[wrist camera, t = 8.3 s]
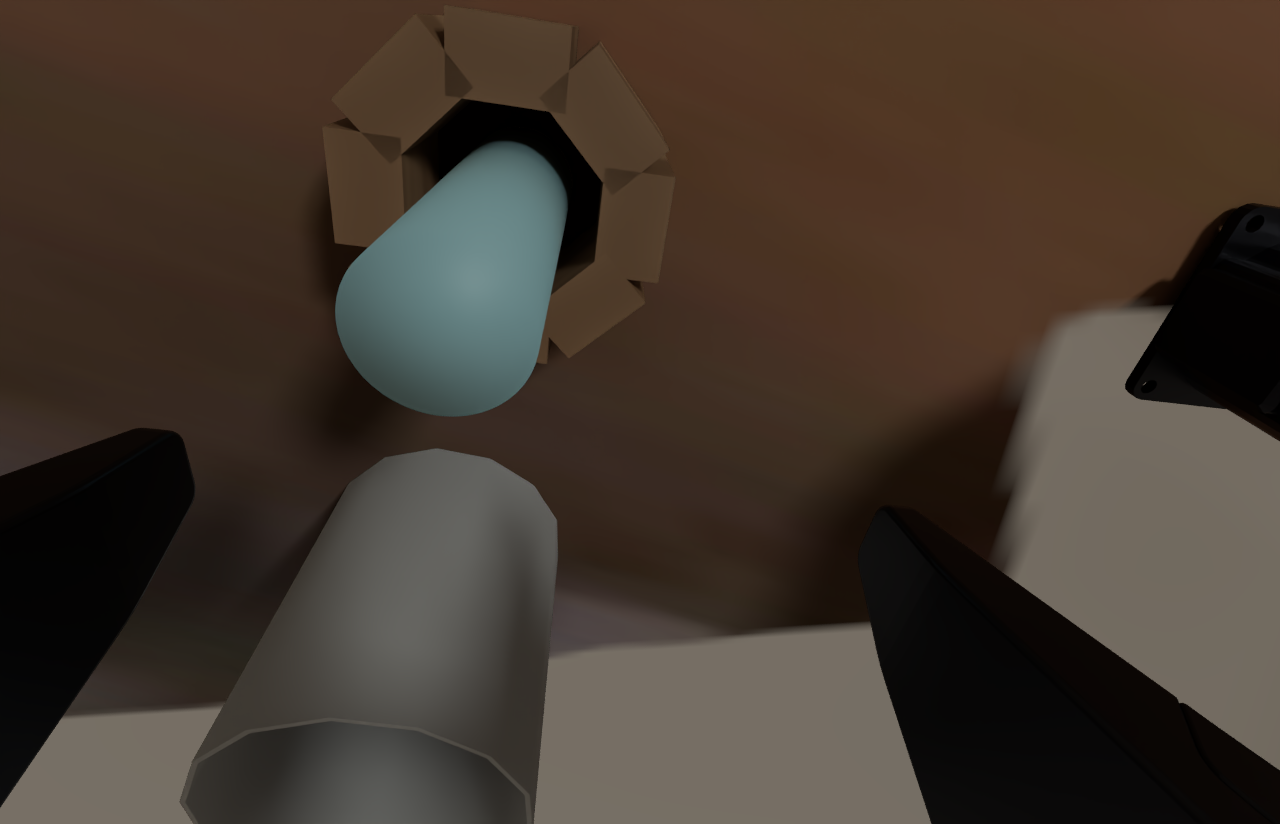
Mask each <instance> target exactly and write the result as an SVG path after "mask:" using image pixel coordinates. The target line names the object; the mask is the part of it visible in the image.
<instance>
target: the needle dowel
mask: <svg viewBox="0 0 1280 824" xmlns="http://www.w3.org/2000/svg"><path fill="white" fill-rule="evenodd" d="M571 194H572V174H571V170H570V166H569V164H568V161H567V159H566V157H565V155H564V154H563V152H562V151H561V149H560V148H559V147H558V146H557V145H556V143H555V142H553V141H552V140H551V139H550V138H549V137H547V136H546V135H544V134H542V133H541V132H539V131H536V130H533V129H531V128H526V127H508V128H503V129H501V130H498V131H496V132H494V133H492V134H491V135H489V136H488V137H487V138H486V139H484V140H483V141H482V142H481V143H480V144H479V145H478V146H477V147H476V148H475V149H474V150H473V151H472V152H470V153H469V154H468V155H467V156H466V157H465V158H464V159H463V160H462V161H461V162H460V163H459V164H458V165H456V166H455V167H454V168H453V169H452V170H451V171H450V172H449V173H448V174H447V175H446V176H445V177H444V178H442V179H441V180H440V181H439V182H438V183H437V184H436V185H435V186H434V187H433V188H432V189H431V190H430V191H428V192H427V193H426V194H425V195H424V196H423V197H422V198H421V199H420V200H419V201H418V202H417V203H416V204H414V205H413V206H412V207H411V208H410V209H409V210H408V211H407V212H406V213H405V214H404V215H403V216H402V217H400V218H399V219H398V220H397V221H396V222H395V223H394V224H393V225H392V226H391V227H390V228H389V229H388V230H386V231H385V232H384V233H383V234H382V235H381V236H380V237H379V238H378V239H377V240H376V241H375V242H374V243H372V244H371V245H370V246H369V247H368V248H367V249H366V250H365V251H364V252H363V253H362V254H361V255H360V256H359V257H358V258H357V259H356V260H355V261H354V262H353V263H352V264H351V266H350V267H349V269H348V270H347V271H346V273H345V275H344V277H343V279H342V281H341V283H340V286H339V290H338V293H337V297H336V306H335V314H336V325H337V330H338V334H339V337H340V340H341V343H342V346H343V348H344V350H345V352H346V354H347V356H348V358H349V359H350V361H351V362H352V364H353V365H354V367H355V368H356V369H357V370H358V372H359V373H360V374H361V375H362V377H363V378H364V379H365V380H367V381H368V382H369V383H370V384H371V385H372V386H373V387H374V388H375V389H377V390H378V391H379V392H381V393H382V394H383V395H385V396H386V397H388V398H390V399H391V400H393V401H395V402H397V403H399V404H401V405H403V406H405V407H408V408H410V409H413V410H416V411H419V412H423V413H427V414H432V415H438V416H467V415H472V414H478V413H481V412H484V411H487V410H490V409H492V408H494V407H497V406H499V405H500V404H502V403H504V402H505V401H507V400H508V399H510V398H511V397H512V396H513V395H514V394H516V393H517V392H518V391H519V390H520V389H521V387H522V386H523V385H524V384H525V383H526V381H527V380H528V378H529V377H530V375H531V373H532V371H533V369H534V366H535V364H536V360H537V357H538V353H539V349H540V344H541V339H542V334H543V329H544V324H545V320H546V315H547V310H548V305H549V300H550V296H551V291H552V286H553V281H554V276H555V271H556V267H557V262H558V257H559V252H560V247H561V243H562V238H563V233H564V228H565V223H566V219H567V214H568V209H569V204H570V199H571Z"/></svg>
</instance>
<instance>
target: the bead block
mask: <svg viewBox="0 0 1280 824" xmlns="http://www.w3.org/2000/svg"><path fill="white" fill-rule="evenodd" d="M578 31H579V27H578V26H573V25H567V24H561V23H555V22H549V21H543V20H537V19H531V18H525V17H519V16H514V15H508V14H502V13H496V12H490V11H484V10H478V9H471V8H464V7H456V6H449V5H444V16H441V15H425V14H414V15H413V16H412V17H411V18H410V19H409V20H408V21H407V22H406V23H405V24H404V26H403V27H402V28H401V29H400V30H399V31H398V32H397V33H396V34H395V35H394V36H393V37H392V38H391V39H390V40H389V41H388V42H387V43H386V44H385V45H384V46H383V47H382V48H381V49H380V50H379V51H378V52H377V53H376V54H375V55H374V56H373V57H372V58H371V59H370V60H369V61H368V62H367V63H366V64H365V65H364V66H363V67H362V68H361V69H360V70H359V71H358V72H357V73H356V74H355V75H354V76H353V77H352V78H351V79H350V80H349V81H348V82H347V83H346V84H345V85H344V86H343V87H342V88H341V89H340V90H339V91H338V92H337V93H336V95H335V96H334V97H333V98H332V99H331V100H332V101H333V103H334V104H335V105H336V106H337V107H338V108H339V109H340V110H341V111H342V112H343V113H344V114H345V116H346V117H347V118H345V119H342V120H340V121H337V122H334V123H331V124H328V125H325V126H323V127H322V129H323V138H324V147H325V156H326V166H327V175H328V184H329V193H330V202H331V211H332V220H333V229H334V238H335V243H338V244H346V245H354V246H362V247H369V246H370V245H371V244H372V243H374V242H375V241H376V240H377V239H378V238H379V237H380V236H381V235H382V234H383V233H384V232H385V231H386V230H388V229H389V228H390V227H391V226H392V225H393V224H394V223H395V222H396V221H397V220H398V219H399V218H400V217H402V216H403V215H404V214H405V213H406V212H407V211H408V210H409V209H410V208H411V207H412V206H413V205H414V204H416V203H417V202H418V201H419V200H420V199H421V198H422V197H423V196H424V195H425V194H426V193H427V192H428V191H430V190H431V189H432V188H433V187H434V186H435V185H436V184H437V183H438V182H439V142H438V131H439V130H440V129H442V128H443V127H444V126H445V125H446V124H447V123H448V122H449V121H450V120H451V119H452V118H453V117H455V116H456V115H457V114H458V113H459V112H460V111H461V110H462V109H463V108H464V107H465V106H466V105H468V104H469V103H470V102H471V101H472V100H476V101H483V102H489V103H496V104H502V105H509V106H515V107H522V108H528V109H535V110H542V111H548V112H550V113H551V114H552V116H553V117H554V118H555V120H556V121H557V122H558V124H559V125H560V126H561V128H562V129H563V130H564V132H565V133H566V134H567V136H568V137H569V138H570V140H571V141H572V142H573V144H574V145H575V146H576V148H577V149H578V150H579V152H580V153H581V154H582V156H583V157H584V158H585V160H586V161H587V162H588V164H589V165H590V166H591V168H592V169H593V170H594V172H595V173H596V174H597V176H598V177H599V178H600V180H601V186H600V195H599V205H598V214H597V223H595V224H594V225H593V226H592V227H590V228H589V229H588V230H587V231H585V232H584V233H583V234H581V235H580V236H579V237H578V238H576V239H575V240H574V241H573V242H571V243H570V244H569V245H567V246H566V247H565V248H564V249H562V250H561V251H560V252H559V257H558V262H557V267H556V271H555V276H554V281H553V286H552V291H551V296H550V300H549V305H548V310H547V315H546V320H545V324H544V329H543V334H542V339H541V344H540V349H539V353H538V357H537V360H536V363H543V364H547V360H548V354H549V348H550V343H551V340H552V341H553V342H554V343H555V344H556V345H557V346H558V347H559V349H560V350H561V351H562V352H563V353H564V354H565V355H566V356H567V357H568V358H570V357H571V356H573V355H574V354H575V353H577V352H578V351H580V350H581V349H582V348H584V347H585V346H587V345H588V344H589V343H591V342H592V341H594V340H595V339H596V338H598V337H599V336H601V335H602V334H603V333H605V332H606V331H607V330H609V329H610V328H612V327H613V326H614V325H616V324H617V323H619V322H620V321H621V320H623V319H624V318H626V317H627V316H628V315H630V314H631V313H633V312H634V311H635V310H637V309H638V308H639V307H641V306H642V305H644V304H645V296H644V289H643V282H642V281H644V282H652V283H658V280H659V274H660V268H661V263H662V257H663V251H664V245H665V239H666V233H667V227H668V221H669V215H670V209H671V203H672V197H673V191H674V185H675V179H676V177H675V175H674V173H673V171H672V168H671V166H670V164H669V162H668V160H667V158H666V155H665V153H667V152H668V151H669V150H670V149H669V148H668V146H667V144H666V142H665V140H664V138H663V136H662V134H661V132H660V130H659V128H658V127H657V125H656V124H655V122H654V121H653V119H652V118H651V116H650V115H649V113H648V112H647V110H646V109H645V107H644V106H643V104H642V103H641V101H640V100H639V98H638V97H637V95H636V94H635V92H634V91H633V89H632V88H631V86H630V85H629V83H628V82H627V80H626V79H625V77H624V76H623V74H622V73H621V71H620V70H619V68H618V67H617V65H616V64H615V62H614V61H613V59H612V58H611V56H610V55H609V54H608V52H607V51H606V49H605V48H604V46H603V45H602V43H601V42H598V43H597V44H596V45H595V46H594V47H593V48H592V49H591V50H589V51H588V52H587V53H586V54H585V55H584V56H583V57H582V58H580V59H579V60H578V61H577V62H576V56H577V43H578ZM350 266H351V265H350ZM350 266H349V267H350ZM349 267H348V268H349Z"/></svg>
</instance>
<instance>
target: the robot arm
mask: <svg viewBox="0 0 1280 824" xmlns="http://www.w3.org/2000/svg"><path fill="white" fill-rule="evenodd" d="M1251 218H1252V220H1251V222H1250V223H1249V224H1248V225H1247V223H1248V221H1249V220H1250V219H1251ZM1246 225H1247V226H1246ZM1145 382H1146V384H1145V385H1143V384H1144V383H1145ZM1142 385H1143V386H1142ZM1125 389H1126V390H1127V391H1128V392H1129V393H1130V394H1131V395H1133V396H1134V397H1136V398H1138V399H1141V400H1151V401H1159V402H1168V403H1177V404H1186V405H1195V406H1204V407H1212V408H1221V409H1228V410H1230V411H1231V412H1233V413H1235V414H1236V415H1238V416H1239V417H1241V418H1242V419H1244V420H1246V421H1247V422H1249V423H1251V424H1252V425H1254V426H1256V427H1257V428H1259V429H1261V430H1262V431H1264V432H1265V433H1267V434H1268V435H1270V436H1272V437H1273V438H1275V439H1277V440H1278V441H1280V207H1275V206H1268V205H1262V204H1256V203H1251V204H1246V205H1243V206H1241V207H1239V208H1238V209H1237V210H1235V211H1234V212H1233V213H1232V214H1231V216H1230V217H1229V218H1228V220H1227V221H1226V223H1225V224H1224V226H1223V228H1222V229H1221V231H1220V232H1219V234H1218V236H1217V237H1216V239H1215V240H1214V242H1213V244H1212V245H1211V247H1210V248H1209V250H1208V252H1207V253H1206V255H1205V256H1204V258H1203V259H1202V261H1201V263H1200V264H1199V266H1198V267H1197V269H1196V271H1195V272H1194V274H1193V275H1192V277H1191V279H1190V280H1189V282H1188V283H1187V285H1186V287H1185V288H1184V290H1183V291H1182V293H1181V295H1180V296H1179V298H1178V299H1177V301H1176V303H1175V304H1174V306H1173V307H1172V309H1171V311H1170V312H1169V314H1168V315H1167V317H1166V319H1165V320H1164V322H1163V323H1162V325H1161V326H1160V328H1159V330H1158V331H1157V333H1156V334H1155V336H1154V338H1153V340H1152V341H1151V342H1150V344H1149V346H1148V347H1147V349H1146V350H1145V352H1144V354H1143V355H1142V357H1141V358H1140V360H1139V362H1138V363H1137V365H1136V366H1135V368H1134V370H1133V371H1132V373H1131V374H1130V376H1129V378H1128V379H1127V381H1126V384H1125ZM194 496H195V482H194V478H193V474H192V471H191V467H190V463H189V459H188V456H187V452H186V448H185V445H184V442H183V439H182V438H181V436H180V435H179V434H178V433H176V432H174V431H169V430H160V429H150V428H136V429H132V430H130V431H127V432H124V433H121V434H118V435H115V436H113V437H110V438H107V439H104V440H101V441H98V442H96V443H93V444H90V445H87V446H84V447H82V448H79V449H76V450H73V451H70V452H67V453H65V454H62V455H59V456H56V457H53V458H50V459H48V460H45V461H42V462H39V463H36V464H33V465H31V466H28V467H25V468H22V469H19V470H16V471H14V472H11V473H8V474H5V475H2V476H0V807H1V806H2V804H3V803H4V801H5V800H6V798H7V797H8V796H9V794H10V793H11V791H12V790H13V788H14V787H15V785H16V783H17V782H18V781H19V779H20V778H21V777H22V775H23V774H24V772H25V771H26V769H27V768H28V766H29V765H30V763H31V762H32V760H33V759H34V758H35V756H36V755H37V753H38V752H39V750H40V749H41V747H42V746H43V744H44V743H45V741H46V740H47V739H48V737H49V735H50V734H51V733H52V731H53V730H54V728H55V727H56V725H57V724H58V722H59V721H60V720H61V718H62V717H63V715H64V714H65V712H66V711H67V709H68V708H69V706H70V705H71V703H72V702H73V701H74V699H75V698H76V696H77V695H78V693H79V692H80V690H81V689H82V687H83V686H84V684H85V683H86V682H87V680H88V679H89V677H90V676H91V674H92V673H93V671H94V670H95V668H96V667H97V665H98V664H99V663H100V661H101V660H102V658H103V657H104V655H105V654H106V652H107V651H108V649H109V648H110V646H111V645H112V644H113V642H114V641H115V639H116V638H117V636H118V635H119V633H120V632H121V630H122V629H123V627H124V626H125V624H126V623H127V621H128V620H129V618H130V616H131V615H132V613H133V612H134V610H135V608H136V607H137V605H138V603H139V601H140V600H141V598H142V596H143V595H144V593H145V591H146V589H147V587H148V585H149V583H150V582H151V580H152V578H153V576H154V574H155V572H156V570H157V569H158V567H159V565H160V563H161V561H162V559H163V557H164V555H165V554H166V552H167V550H168V548H169V546H170V544H171V542H172V541H173V539H174V537H175V535H176V533H177V531H178V529H179V527H180V526H181V524H182V522H183V520H184V518H185V516H186V514H187V513H188V511H189V509H190V507H191V505H192V503H193V500H194ZM858 565H859V570H860V575H861V580H862V584H863V589H864V594H865V599H866V603H867V608H868V613H869V617H870V622H871V627H872V631H873V636H874V641H875V645H876V650H877V654H878V658H879V662H880V666H881V670H882V673H883V676H884V680H885V683H886V686H887V689H888V692H889V695H890V698H891V701H892V705H893V707H894V711H895V714H896V716H897V720H898V723H899V726H900V729H901V732H902V735H903V738H904V741H905V744H906V747H907V750H908V753H909V757H910V759H911V763H912V766H913V769H914V772H915V775H916V778H917V781H918V784H919V787H920V790H921V793H922V796H923V799H924V802H925V805H926V809H927V811H928V815H929V818H930V821H931V824H1280V770H1278V769H1277V768H1275V767H1274V766H1273V765H1271V764H1270V763H1268V762H1267V761H1265V760H1264V759H1263V758H1261V757H1260V756H1258V755H1257V754H1255V753H1254V752H1252V751H1251V750H1250V749H1248V748H1247V747H1245V746H1244V745H1242V744H1241V743H1240V742H1238V741H1237V740H1235V739H1234V738H1232V737H1231V736H1230V735H1228V734H1227V733H1225V732H1224V731H1223V730H1221V729H1220V728H1218V727H1217V726H1216V725H1214V724H1213V723H1211V722H1210V721H1209V720H1207V719H1206V718H1205V717H1203V716H1202V715H1200V714H1199V713H1198V712H1196V711H1195V710H1193V709H1192V708H1191V707H1189V706H1188V705H1186V704H1184V703H1179V702H1178V699H1177V698H1176V697H1175V696H1174V695H1172V694H1171V693H1170V692H1168V691H1167V690H1165V689H1164V688H1163V687H1161V686H1160V685H1158V684H1157V683H1156V682H1154V681H1153V680H1151V679H1150V678H1149V677H1147V676H1146V675H1145V674H1143V673H1142V672H1140V671H1139V670H1137V669H1136V668H1135V667H1133V666H1132V665H1130V664H1129V663H1128V662H1126V661H1125V660H1124V659H1122V658H1121V657H1119V656H1118V655H1117V654H1115V653H1114V652H1112V651H1111V650H1110V649H1108V648H1107V647H1105V646H1104V645H1103V644H1101V643H1100V642H1099V641H1097V640H1096V639H1094V638H1093V637H1091V636H1090V635H1089V634H1087V633H1086V632H1085V631H1083V630H1082V629H1080V628H1079V627H1077V626H1076V625H1075V624H1073V623H1072V622H1071V621H1069V620H1068V619H1066V618H1065V617H1063V616H1062V615H1061V614H1060V613H1058V612H1057V611H1055V610H1054V609H1052V608H1051V607H1050V606H1048V605H1047V604H1046V603H1044V602H1043V601H1041V600H1040V599H1039V598H1037V597H1036V596H1034V595H1033V594H1031V593H1030V592H1029V591H1027V590H1026V589H1025V588H1023V587H1022V586H1021V585H1019V584H1018V583H1016V582H1015V581H1014V580H1012V579H1011V578H1009V577H1008V576H1007V575H1005V574H1004V573H1002V572H1001V571H1000V570H998V569H997V568H996V567H994V566H993V565H991V564H990V563H989V562H987V561H986V560H984V559H983V558H982V557H980V556H979V555H977V554H976V553H975V552H973V551H972V550H970V549H969V548H968V547H966V546H965V545H964V544H962V543H961V542H959V541H958V540H957V539H955V538H954V537H952V536H951V535H950V534H948V533H947V532H945V531H944V530H943V529H941V528H940V527H938V526H937V525H936V524H934V523H933V522H931V521H930V520H929V519H927V518H926V517H925V516H923V515H922V514H920V513H919V512H918V511H916V510H915V509H913V508H910V507H902V506H892V505H885V506H882V507H880V508H879V509H878V510H877V512H876V514H875V516H874V518H873V520H872V522H871V524H870V527H869V529H868V531H867V533H866V535H865V537H864V540H863V542H862V544H861V546H860V549H859V554H858Z"/></svg>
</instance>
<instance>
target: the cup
mask: <svg viewBox="0 0 1280 824" xmlns="http://www.w3.org/2000/svg"><path fill="white" fill-rule="evenodd" d="M557 560H558V543H557V520H556V518H555V517H554V515H553V514H552V512H551V511H550V509H549V508H548V506H547V505H546V503H545V502H544V500H543V499H542V497H541V496H540V494H539V493H538V491H537V490H536V488H535V487H534V485H532V484H531V483H529V482H528V481H526V480H524V479H523V478H521V477H519V476H518V475H516V474H515V473H513V472H511V471H510V470H508V469H506V468H505V467H503V466H502V465H500V464H498V463H497V462H495V461H493V460H492V459H489V458H484V457H479V456H473V455H468V454H463V453H458V452H453V451H448V450H442V449H437V448H436V449H431V450H425V451H419V452H413V453H408V454H402V455H396V456H390V457H385V458H384V459H382V460H381V461H379V462H378V463H377V464H375V465H374V466H372V467H371V468H370V469H368V470H367V471H365V472H364V473H362V474H361V475H360V476H358V477H357V478H355V479H354V480H353V481H351V482H350V483H349V484H348V485H347V487H346V489H345V491H344V493H343V494H342V496H341V498H340V500H339V501H338V503H337V505H336V507H335V509H334V510H333V512H332V514H331V516H330V517H329V519H328V521H327V523H326V525H325V526H324V528H323V530H322V532H321V533H320V535H319V537H318V539H317V541H316V542H315V544H314V546H313V548H312V549H311V551H310V553H309V555H308V557H307V558H306V560H305V562H304V564H303V565H302V567H301V569H300V571H299V573H298V574H297V576H296V578H295V580H294V581H293V583H292V585H291V587H290V589H289V590H288V592H287V594H286V596H285V597H284V599H283V601H282V603H281V605H280V606H279V608H278V610H277V612H276V613H275V615H274V617H273V619H272V621H271V622H270V624H269V626H268V628H267V629H266V631H265V633H264V635H263V637H262V638H261V640H260V642H259V644H258V645H257V647H256V649H255V651H254V653H253V654H252V656H251V658H250V660H249V661H248V663H247V665H246V667H245V669H244V670H243V672H242V674H241V676H240V677H239V679H238V681H237V683H236V685H235V686H234V688H233V690H232V692H231V693H230V695H229V697H228V699H227V701H226V702H225V704H224V706H223V708H222V709H221V711H220V713H219V715H218V717H217V718H216V720H215V722H214V724H213V725H212V727H211V729H210V731H209V733H208V734H207V736H206V738H205V740H204V741H203V743H202V745H201V747H200V749H199V750H198V752H197V754H196V756H195V757H194V759H193V761H192V764H191V767H190V770H189V773H188V776H187V780H186V783H185V786H184V789H183V793H182V796H181V799H180V803H181V805H182V807H183V808H184V810H185V811H186V813H187V814H188V816H189V817H190V819H191V820H192V822H193V824H534V812H535V801H536V789H537V780H538V768H539V758H540V747H541V736H542V725H543V714H544V703H545V702H544V701H545V692H546V681H547V669H548V659H549V648H550V637H551V626H552V615H553V604H554V593H555V582H556V571H557Z"/></svg>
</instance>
